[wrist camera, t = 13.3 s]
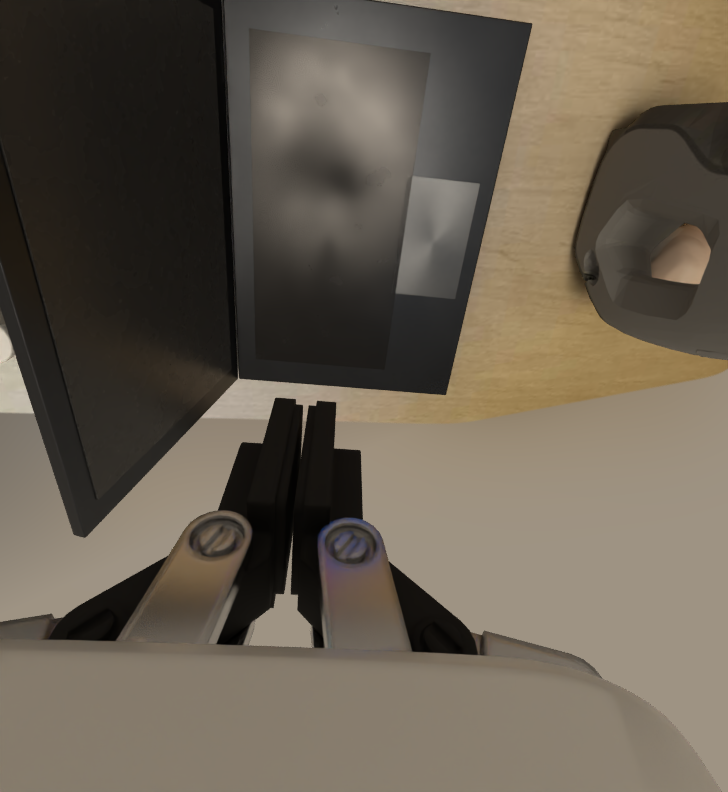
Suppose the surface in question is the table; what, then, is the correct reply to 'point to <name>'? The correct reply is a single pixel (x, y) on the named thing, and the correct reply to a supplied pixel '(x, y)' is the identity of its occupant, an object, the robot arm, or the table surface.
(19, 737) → the robot arm
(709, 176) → the handheld device
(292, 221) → the laptop
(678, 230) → the garlic bulb
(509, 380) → the table surface
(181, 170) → the laptop screen
